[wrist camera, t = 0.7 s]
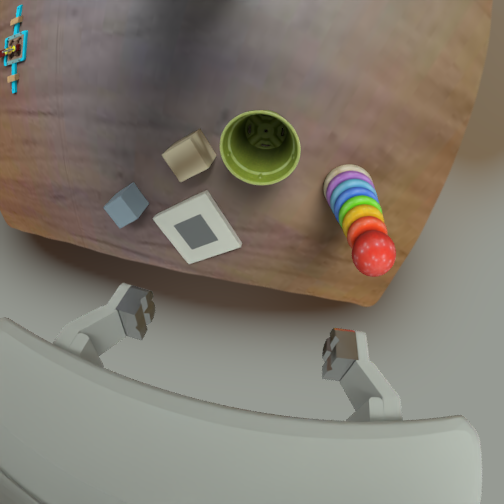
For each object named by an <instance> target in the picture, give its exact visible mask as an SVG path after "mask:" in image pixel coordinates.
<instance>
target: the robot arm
mask: <svg viewBox="0 0 504 504" xmlns="http://www.w3.org/2000/svg"><path fill="white" fill-rule="evenodd" d="M152 298H153V292H152V291H149V290H146V289H143V288H139V287H136V286H133V285H128V284H125V283H122V284H121V285H120V286H119V287H118V289H117V290H116V292H115V293H114V294H113V296H112V297H111V299H110V300H109V302H108V303H107V305H106V306H101V307H99V308H97V309H95V310H93V311H91V312H89V313H87V314H85V315H83V316H81V317H80V318H78V319H76V320H74V321H72V322H70V323H68V324H66V325H65V326H64V327H63V329H62V330H61V332H60V333H59V334H58V336H57V337H56V339H55V341H54V342H53V344H52V343H50V342H48V341H46V340H44V339H43V338H41V337H39V336H37V335H35V334H34V333H32V332H30V331H28V330H27V329H25V328H24V327H22V326H20V325H19V324H17V323H15V322H14V321H12V320H11V319H9V318H6V317H4V318H0V504H480V502H481V490H482V456H481V446H480V445H481V444H480V439H479V435H478V433H477V432H476V430H475V429H474V428H473V426H472V425H471V424H470V423H469V421H468V420H467V419H466V418H465V417H464V416H462V415H454V416H447V417H440V418H430V419H419V420H405V421H403V420H402V410H401V402H400V397H399V395H398V394H397V393H396V391H395V390H394V389H393V388H392V386H391V385H390V384H389V382H388V381H387V380H386V378H385V377H384V376H383V375H382V373H381V372H380V371H379V369H378V368H377V367H376V366H375V364H374V363H373V362H370V360H369V353H368V345H367V339H366V334H365V332H361V331H353V330H346V329H339V328H333V329H332V330H331V332H330V337H329V338H328V339H326V341H325V344H324V347H323V353H322V354H323V355H322V358H323V360H324V361H325V363H324V365H323V366H322V378H323V379H327V380H335V381H340V384H341V386H342V387H343V389H344V391H345V393H346V395H347V396H348V398H349V400H350V401H351V403H352V405H353V407H354V409H355V411H356V412H355V413H354V414H352V415H351V416H350V417H349V418H348V419H347V420H346V421H334V420H319V419H307V418H298V417H290V416H282V415H275V414H267V413H261V412H256V411H249V410H244V409H239V408H234V407H229V406H225V405H220V404H216V403H211V402H207V401H203V400H199V399H195V398H192V397H187V396H184V395H181V394H177V393H174V392H170V391H167V390H164V389H161V388H157V387H154V386H151V385H148V384H145V383H143V382H139V381H137V380H134V379H131V378H128V377H126V376H123V375H120V374H118V373H115V372H113V371H110V370H108V369H105V368H103V367H104V366H103V363H102V361H101V360H100V358H99V356H100V355H101V354H102V353H104V352H105V351H107V350H108V349H110V348H111V347H112V346H114V345H115V344H117V343H118V342H119V341H121V340H122V339H124V338H125V337H126V336H129V337H132V338H136V339H139V340H142V339H143V337H144V335H145V334H146V331H147V326H146V325H148V324H149V323H151V322H152V319H153V318H154V313H155V304H154V302H153V301H152Z"/></svg>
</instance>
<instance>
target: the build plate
mask: <svg viewBox="0 0 504 504" xmlns="http://www.w3.org/2000/svg"><path fill="white" fill-rule="evenodd" d="M153 220H154V221H155V223H156V224H157V225H158V226H159V228H160V229H161V230H162V232H163V233H164V234H165V235H166V237H167V238H168V239H169V240H170V242H171V243H172V244H173V246H174V247H175V248H176V249H177V250H178V252H179V253H180V254H181V255H182V257H183V258H184V259H185V260H186V262H187V263H188V264H191V263H194V262H197V261H200V260H203V259H206V258H209V257H213V256H216V255H219V254H222V253H225V252H228V251H231V250H234V249H237V248H240V247H241V245H242V242H241V241H240V239H239V238H238V236H237V234H236V233H235V231H234V230H233V228H232V227H231V225H230V224H229V222H228V221H227V219H226V218H225V216H224V215H223V213H222V212H221V210H220V208H219V207H218V205H217V204H216V202H215V201H214V199H213V198H212V196H211V195H210V193H209V192H208V190H206V191H203V192H201V193H199V194H197V195H195V196H193V197H191V198H189V199H186V200H184V201H182V202H180V203H178V204H176V205H174V206H172V207H170V208H168V209H166V210H164V211H162V212H160V213H158V214H156V215H155V216H154V217H153Z"/></svg>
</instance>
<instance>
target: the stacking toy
mask: <svg viewBox="0 0 504 504" xmlns="http://www.w3.org/2000/svg"><path fill="white" fill-rule="evenodd" d="M323 190H324V195H325V198H326V200H327V202H328V204H329V206H330V207H331V209H332V212H333V213H334V215H335V217H336V219H337V221H338V222H339V223H340V226H341V227H342V229H343V232H344V235H345V236H346V237H347V241H348V243H349V245H350V247H351V248H352V259H353V262H354V264H355V266H356V268H357V269H358V270H359V271H360V272H361V273H363V274H365V275H367V276H372V277H375V276H380V275H383V274H385V273H386V272H388V271H389V270H390V269H391V267H392V266H393V264H394V262H395V258H396V249H395V246H394V243H393V241H392V240H391V238H390V237H389V236H388V235H387V228H386V226H385V224H384V218H383V215H382V209H381V207H380V205H379V201H378V198H377V194H376V191H375V188H374V185H373V181H372V179H371V177H370V175H369V174H368V172H367V171H366V170H364V169H363V168H361V167H359V166H357V165H352V164H347V165H342V166H339V167H337V168H335V169H333V170H332V171H331V172H330V173H329V174H328V175H327V177H326V179H325V181H324V186H323Z"/></svg>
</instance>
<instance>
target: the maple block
mask: <svg viewBox="0 0 504 504" xmlns="http://www.w3.org/2000/svg"><path fill="white" fill-rule="evenodd" d="M162 156H163V158H164V159H165V161H166V162H167V164H168V165H169V167H170V168H171V170H172V171H173V173H174V174H175V176H176V177H177V179H178V180H179V181H180V182H182V181H184V180H186V179H188V178H190V177H192V176H194V175H196V174H198V173H200V172H202V171H204V170H206V169H208V168H209V167H210V165H211V164H212V162H213V160H214V159H215V157H216V156H217V155H216V154H215V152H214V151H213V149H212V147H211V146H210V144H209V142H208V141H207V139H206V137H205V136H204V134H203V133H202V131H201V129H198V130H197V131H195V132H193V133H191V134H189V135H188V136H186V137H184V138H182V139H181V140H179V141H177V142H175V143H174V144H173V145H172V146H171V147H170V148H168V149H167V150H166V151H165V152H164V153H163V154H162Z"/></svg>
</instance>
